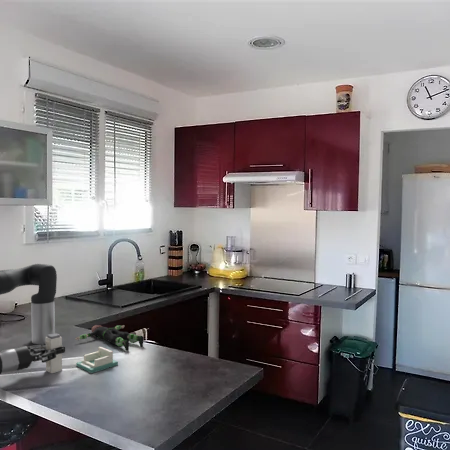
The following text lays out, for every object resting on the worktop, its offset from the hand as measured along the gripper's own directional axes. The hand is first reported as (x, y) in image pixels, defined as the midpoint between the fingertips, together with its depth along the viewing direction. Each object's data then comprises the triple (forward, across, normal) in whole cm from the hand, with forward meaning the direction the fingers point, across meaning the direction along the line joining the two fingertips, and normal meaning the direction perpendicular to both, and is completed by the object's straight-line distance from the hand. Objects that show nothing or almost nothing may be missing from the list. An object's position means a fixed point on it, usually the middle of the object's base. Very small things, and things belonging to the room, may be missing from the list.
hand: (61, 347), depth 160 cm
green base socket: (+10, +7, -8) cm, 14 cm away
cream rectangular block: (-3, 0, -8) cm, 8 cm away
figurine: (+31, -13, -8) cm, 34 cm away
